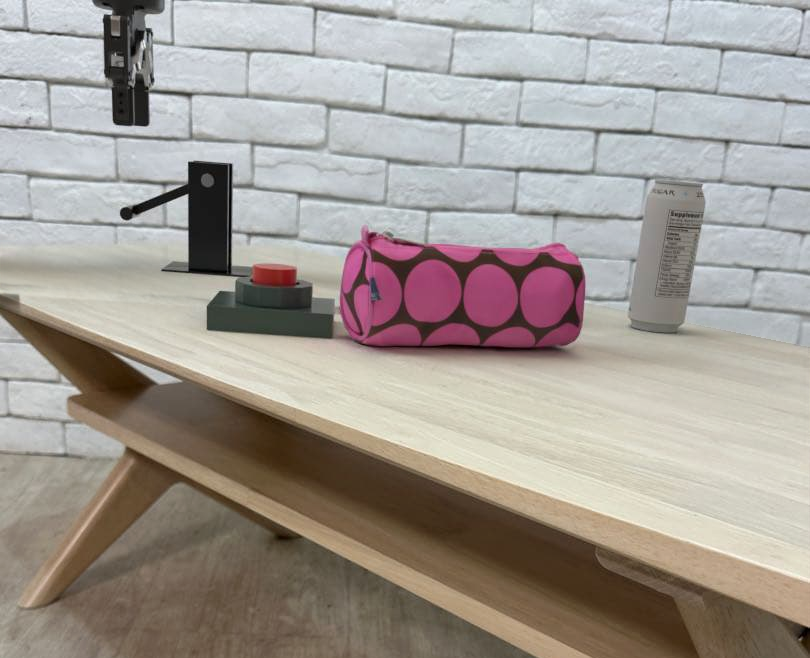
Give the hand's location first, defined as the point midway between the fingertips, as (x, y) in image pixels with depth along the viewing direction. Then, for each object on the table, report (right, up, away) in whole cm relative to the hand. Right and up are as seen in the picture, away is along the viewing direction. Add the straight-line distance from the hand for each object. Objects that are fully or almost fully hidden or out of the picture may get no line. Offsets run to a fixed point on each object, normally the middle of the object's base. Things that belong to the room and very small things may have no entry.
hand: (132, 126), depth 111 cm
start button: (+19, -23, -20) cm, 36 cm away
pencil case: (+35, -29, -21) cm, 50 cm away
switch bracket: (+8, -15, +6) cm, 18 cm away
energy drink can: (+57, -23, -3) cm, 62 cm away
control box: (+18, -26, -19) cm, 37 cm away
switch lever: (+4, -8, +3) cm, 9 cm away
